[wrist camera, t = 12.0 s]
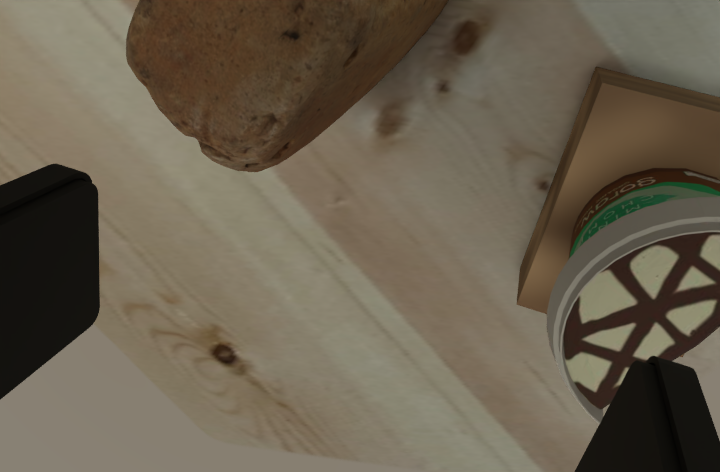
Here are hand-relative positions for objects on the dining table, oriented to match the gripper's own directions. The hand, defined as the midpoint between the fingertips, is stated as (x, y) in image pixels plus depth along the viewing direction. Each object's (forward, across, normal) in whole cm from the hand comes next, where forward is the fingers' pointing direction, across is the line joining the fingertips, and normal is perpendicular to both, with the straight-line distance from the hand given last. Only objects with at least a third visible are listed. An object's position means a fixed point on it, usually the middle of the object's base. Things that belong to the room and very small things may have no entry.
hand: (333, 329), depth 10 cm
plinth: (+30, -11, +6) cm, 33 cm away
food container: (+26, -10, +6) cm, 28 cm away
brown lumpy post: (+31, +8, -1) cm, 32 cm away
